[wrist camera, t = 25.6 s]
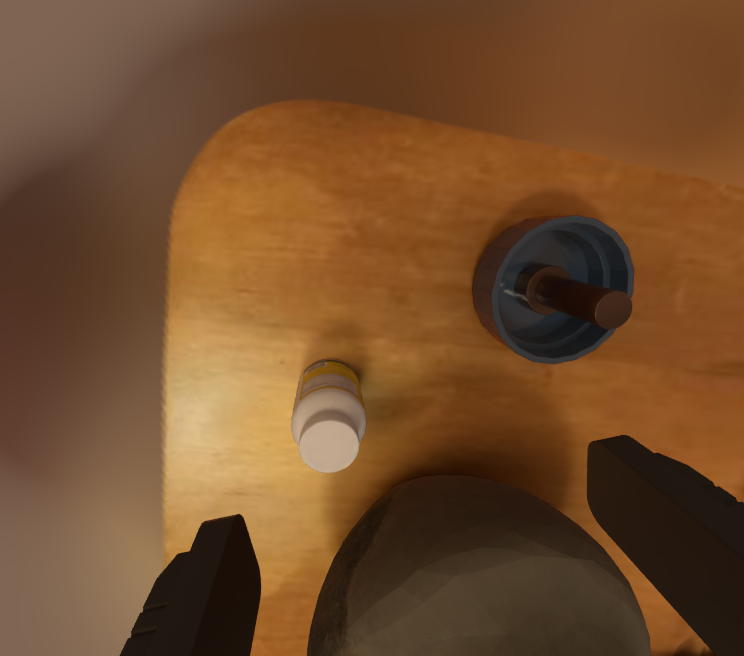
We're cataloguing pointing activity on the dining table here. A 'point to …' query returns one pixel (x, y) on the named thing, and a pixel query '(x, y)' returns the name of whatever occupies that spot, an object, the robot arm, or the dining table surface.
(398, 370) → the dining table surface
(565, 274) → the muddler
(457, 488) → the pot
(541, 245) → the bowl
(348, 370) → the pill bottle
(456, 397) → the dining table surface
